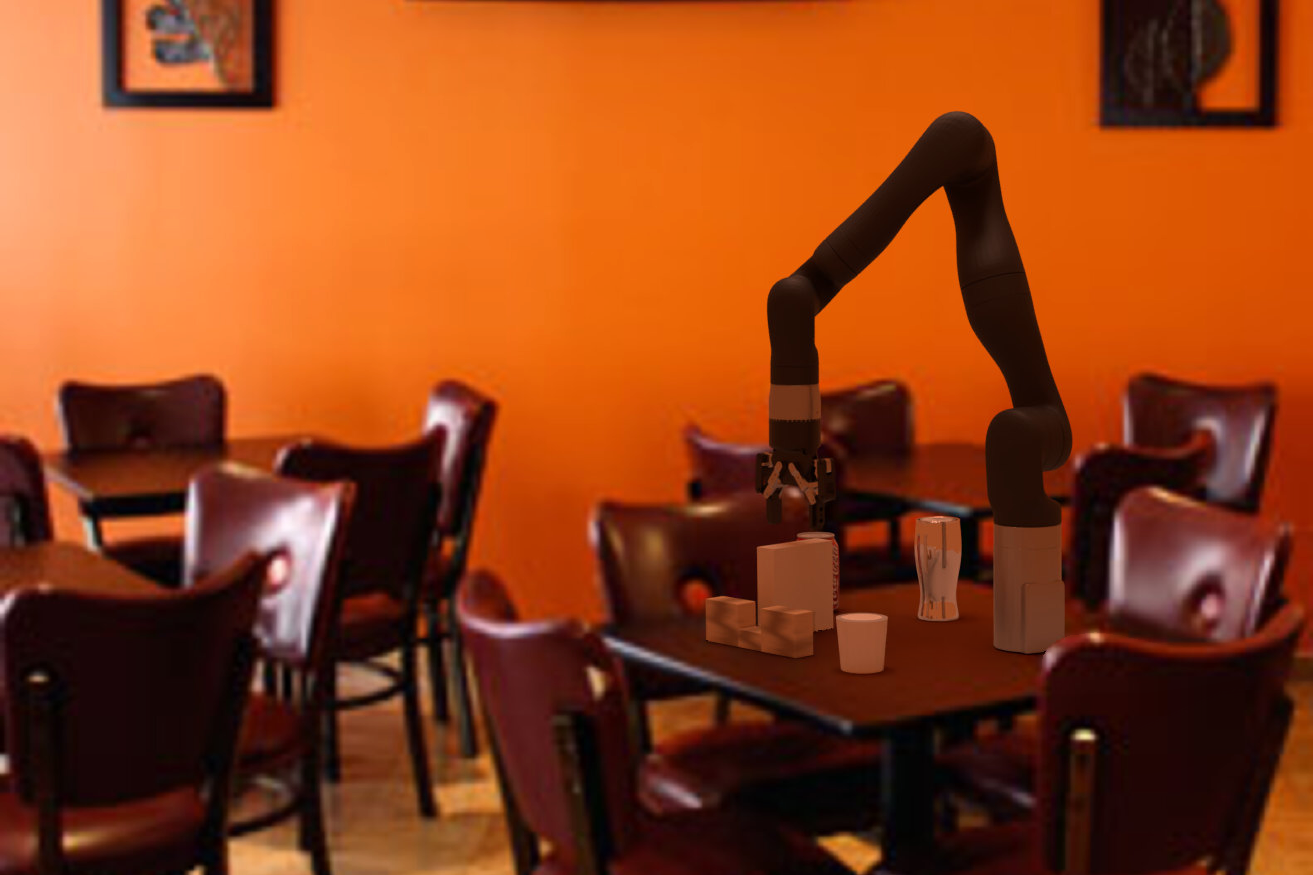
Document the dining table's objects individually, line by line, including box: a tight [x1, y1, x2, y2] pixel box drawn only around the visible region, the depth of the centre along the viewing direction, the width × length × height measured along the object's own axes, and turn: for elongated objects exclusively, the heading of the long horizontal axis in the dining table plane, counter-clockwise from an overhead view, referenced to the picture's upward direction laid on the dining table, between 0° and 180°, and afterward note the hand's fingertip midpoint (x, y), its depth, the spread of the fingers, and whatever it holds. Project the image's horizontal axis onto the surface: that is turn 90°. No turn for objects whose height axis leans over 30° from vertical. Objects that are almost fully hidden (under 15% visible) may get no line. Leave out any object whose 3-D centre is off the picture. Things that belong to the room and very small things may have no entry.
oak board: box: [705, 595, 814, 659], centre depth 266 cm, size 18×3×6 cm, turn 41°
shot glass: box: [835, 612, 889, 674], centre depth 250 cm, size 7×7×7 cm
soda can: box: [795, 531, 840, 612], centre depth 293 cm, size 7×7×12 cm
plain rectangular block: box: [756, 538, 834, 632], centre depth 276 cm, size 3×12×13 cm, turn 131°
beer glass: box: [914, 515, 962, 622], centre depth 285 cm, size 7×7×15 cm
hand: (795, 526), depth 276 cm, fingers open, 8 cm apart
